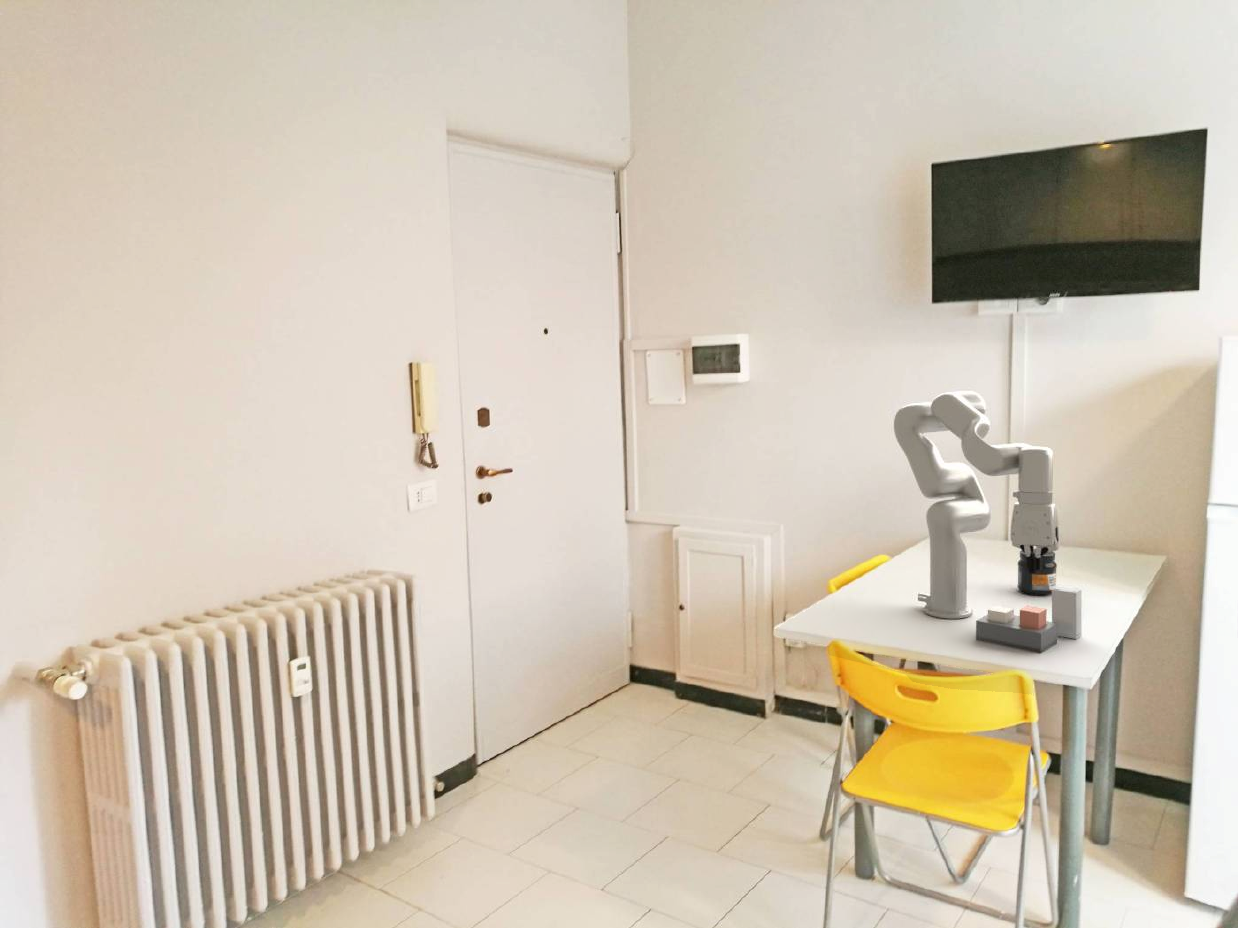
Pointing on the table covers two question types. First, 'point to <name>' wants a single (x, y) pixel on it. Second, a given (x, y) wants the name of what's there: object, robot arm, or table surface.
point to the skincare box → (1067, 611)
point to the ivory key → (1001, 614)
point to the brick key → (1033, 617)
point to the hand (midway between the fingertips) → (1034, 572)
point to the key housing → (1017, 634)
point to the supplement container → (1037, 576)
